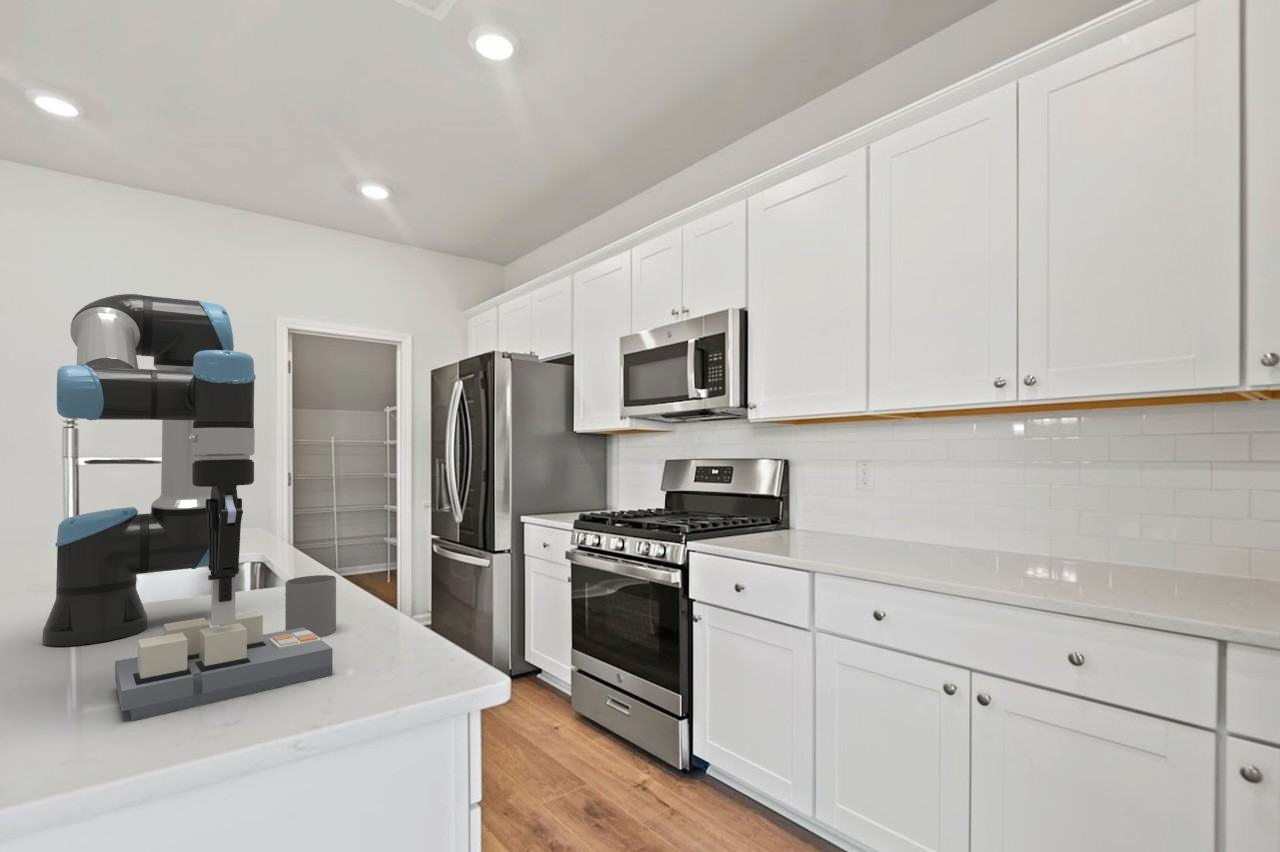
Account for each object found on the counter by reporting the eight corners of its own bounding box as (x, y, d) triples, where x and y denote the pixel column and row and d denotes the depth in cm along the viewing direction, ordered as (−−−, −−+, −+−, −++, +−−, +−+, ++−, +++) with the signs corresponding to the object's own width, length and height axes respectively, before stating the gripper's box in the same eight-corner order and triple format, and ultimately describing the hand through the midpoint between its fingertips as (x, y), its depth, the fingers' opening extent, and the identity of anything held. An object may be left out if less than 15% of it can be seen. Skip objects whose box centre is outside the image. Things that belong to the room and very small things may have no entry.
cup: (314, 641, 116) (314, 584, 117) (275, 639, 118) (275, 583, 118) (345, 628, 125) (345, 575, 125) (307, 626, 126) (307, 574, 126)
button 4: (219, 641, 101) (219, 615, 101) (255, 634, 104) (255, 609, 104) (224, 648, 97) (225, 621, 97) (262, 641, 100) (262, 615, 101)
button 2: (163, 651, 96) (163, 624, 96) (203, 644, 100) (203, 617, 100) (167, 659, 93) (167, 630, 93) (208, 651, 96) (209, 624, 96)
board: (114, 689, 94) (115, 656, 94) (303, 651, 110) (303, 623, 110) (121, 723, 82) (122, 685, 82) (332, 674, 98) (332, 643, 98)
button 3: (199, 657, 93) (199, 629, 93) (239, 650, 96) (239, 622, 96) (204, 666, 89) (204, 636, 89) (246, 657, 93) (246, 629, 93)
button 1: (137, 669, 88) (137, 639, 88) (182, 660, 92) (182, 632, 92) (140, 678, 85) (141, 647, 85) (187, 669, 88) (187, 639, 88)
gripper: (186, 459, 96) (185, 620, 95) (199, 458, 86) (198, 638, 85) (244, 457, 101) (244, 610, 100) (263, 457, 91) (263, 626, 90)
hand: (223, 623), depth 93 cm, fingers closed
